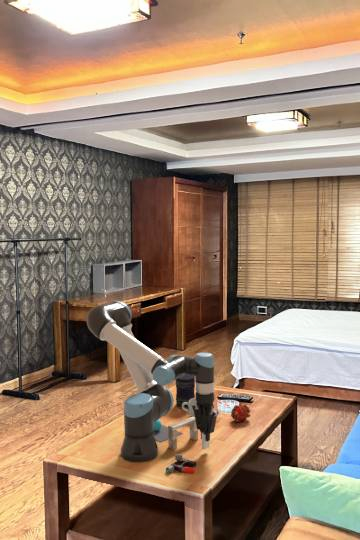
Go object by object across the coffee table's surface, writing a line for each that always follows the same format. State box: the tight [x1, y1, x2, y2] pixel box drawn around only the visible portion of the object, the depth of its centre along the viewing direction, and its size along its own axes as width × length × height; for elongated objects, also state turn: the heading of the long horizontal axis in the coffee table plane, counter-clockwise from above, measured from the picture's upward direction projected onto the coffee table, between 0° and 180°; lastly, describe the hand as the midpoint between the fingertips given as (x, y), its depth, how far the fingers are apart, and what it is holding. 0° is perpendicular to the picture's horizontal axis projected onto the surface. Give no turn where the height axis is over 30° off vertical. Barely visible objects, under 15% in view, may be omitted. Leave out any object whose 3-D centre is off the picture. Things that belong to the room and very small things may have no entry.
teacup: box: [181, 397, 197, 417], centre depth 257 cm, size 14×11×8 cm
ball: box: [153, 419, 162, 431], centre depth 241 cm, size 6×6×6 cm
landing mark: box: [153, 425, 183, 443], centre depth 239 cm, size 13×13×1 cm
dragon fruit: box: [230, 403, 251, 423], centre depth 252 cm, size 8×8×12 cm
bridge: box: [167, 416, 199, 450], centre depth 228 cm, size 3×14×9 cm, turn 133°
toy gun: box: [165, 453, 197, 474], centre depth 204 cm, size 10×12×5 cm
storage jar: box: [175, 375, 196, 409], centre depth 274 cm, size 10×10×15 cm
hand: (205, 447), depth 219 cm, fingers closed
